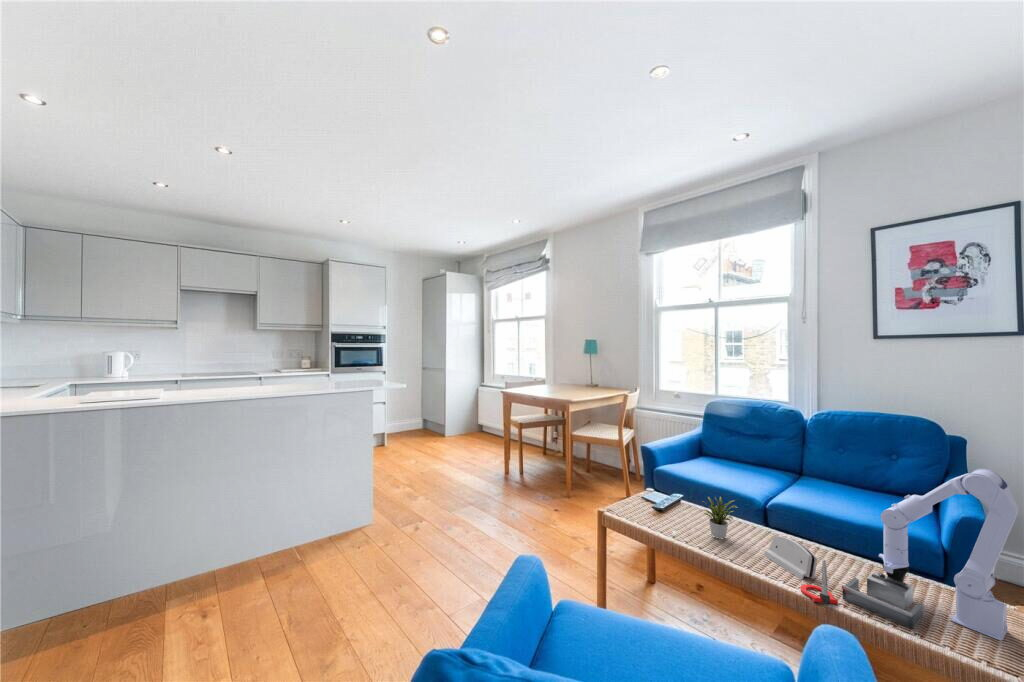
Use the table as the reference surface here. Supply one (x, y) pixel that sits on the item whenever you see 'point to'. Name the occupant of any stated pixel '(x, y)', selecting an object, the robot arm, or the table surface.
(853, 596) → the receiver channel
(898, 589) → the block
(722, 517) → the house plant
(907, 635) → the table surface
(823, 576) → the red handled scissors
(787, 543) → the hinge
